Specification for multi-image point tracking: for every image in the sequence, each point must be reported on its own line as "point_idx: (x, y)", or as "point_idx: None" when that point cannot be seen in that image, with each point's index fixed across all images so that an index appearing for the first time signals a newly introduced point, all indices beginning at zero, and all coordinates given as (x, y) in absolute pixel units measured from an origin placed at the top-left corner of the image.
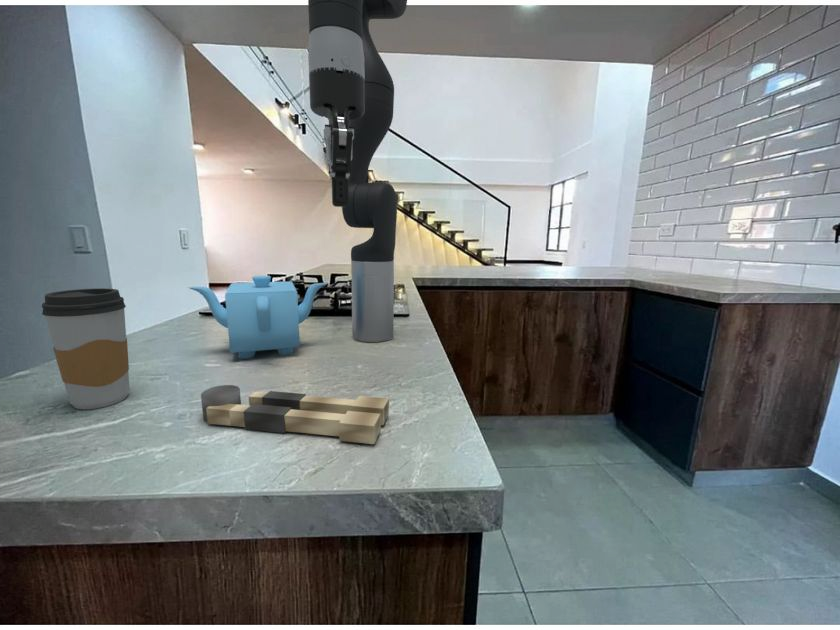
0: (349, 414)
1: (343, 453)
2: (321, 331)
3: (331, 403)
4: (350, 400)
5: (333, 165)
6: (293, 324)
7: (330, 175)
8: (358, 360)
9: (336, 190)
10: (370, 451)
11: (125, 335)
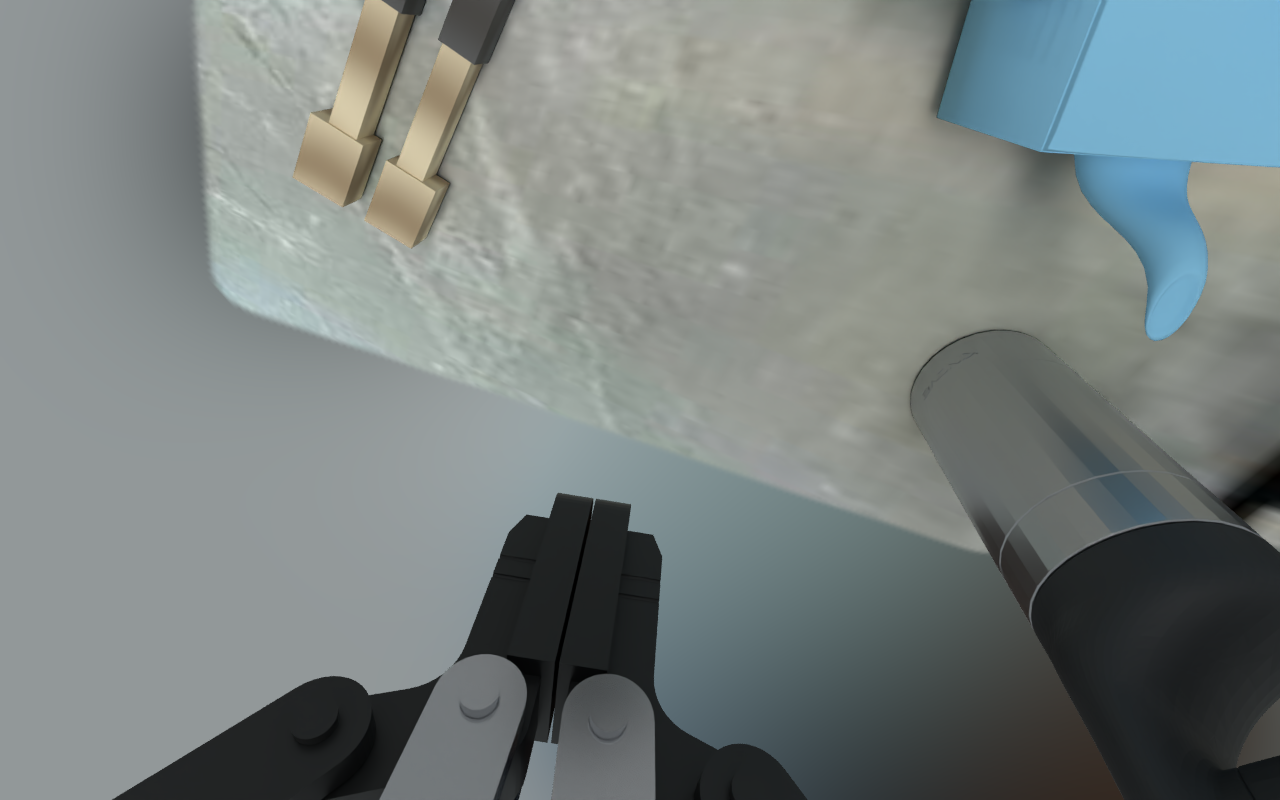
0: (345, 144)
1: (300, 106)
2: None
3: (414, 119)
4: (423, 167)
5: (244, 728)
6: (979, 105)
7: (480, 672)
8: (783, 281)
9: (492, 579)
10: None
11: None
